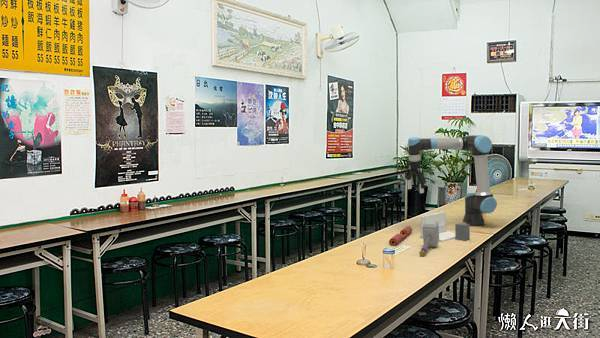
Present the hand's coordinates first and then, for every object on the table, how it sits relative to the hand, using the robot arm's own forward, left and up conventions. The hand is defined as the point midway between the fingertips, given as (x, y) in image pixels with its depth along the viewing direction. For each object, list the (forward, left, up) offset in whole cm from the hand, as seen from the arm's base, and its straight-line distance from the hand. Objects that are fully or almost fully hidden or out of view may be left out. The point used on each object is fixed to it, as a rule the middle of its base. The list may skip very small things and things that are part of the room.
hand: (415, 190), depth 353 cm
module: (-22, +29, -28) cm, 46 cm away
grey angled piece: (+7, +55, -28) cm, 62 cm away
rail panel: (-13, +19, -28) cm, 36 cm away
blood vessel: (+15, +22, -29) cm, 39 cm away
